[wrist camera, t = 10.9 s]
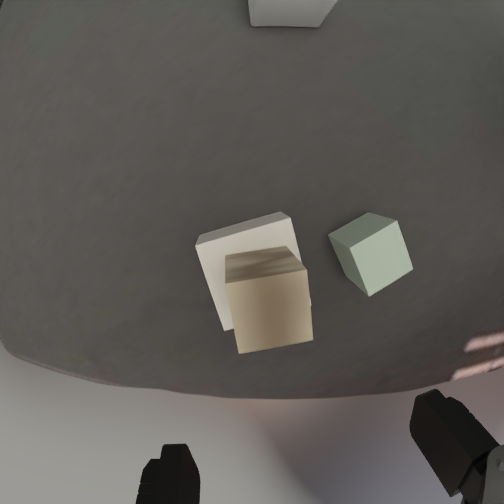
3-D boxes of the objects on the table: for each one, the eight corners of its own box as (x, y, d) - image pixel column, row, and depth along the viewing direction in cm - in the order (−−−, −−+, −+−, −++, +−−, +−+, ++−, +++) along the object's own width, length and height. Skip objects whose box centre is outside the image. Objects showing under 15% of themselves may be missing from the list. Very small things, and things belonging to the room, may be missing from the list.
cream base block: (280, 210, 30) (290, 217, 25) (299, 286, 32) (311, 305, 27) (199, 234, 30) (194, 245, 25) (224, 308, 32) (224, 330, 27)
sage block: (368, 212, 31) (396, 220, 25) (384, 253, 32) (413, 269, 26) (327, 234, 31) (349, 247, 25) (345, 276, 32) (369, 296, 26)
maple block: (285, 245, 26) (306, 269, 19) (292, 301, 27) (313, 339, 20) (225, 255, 26) (225, 283, 19) (235, 311, 27) (238, 353, 20)
